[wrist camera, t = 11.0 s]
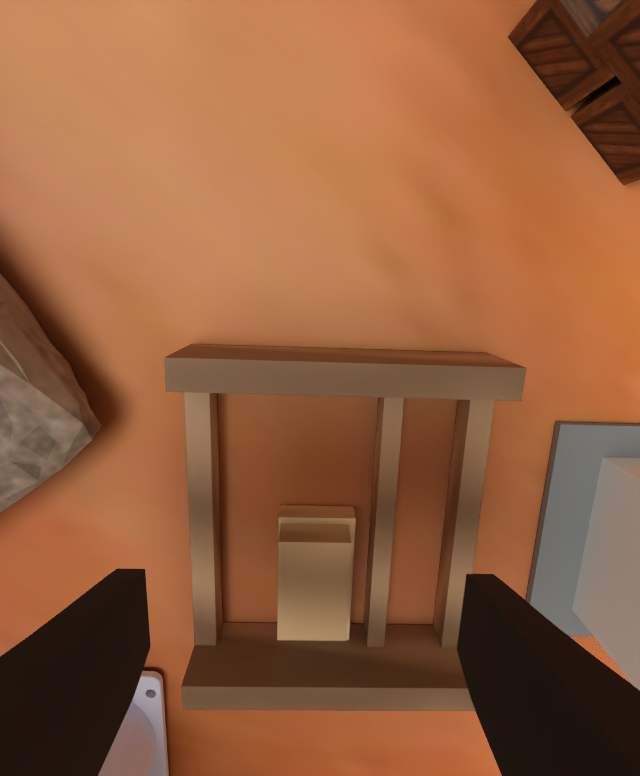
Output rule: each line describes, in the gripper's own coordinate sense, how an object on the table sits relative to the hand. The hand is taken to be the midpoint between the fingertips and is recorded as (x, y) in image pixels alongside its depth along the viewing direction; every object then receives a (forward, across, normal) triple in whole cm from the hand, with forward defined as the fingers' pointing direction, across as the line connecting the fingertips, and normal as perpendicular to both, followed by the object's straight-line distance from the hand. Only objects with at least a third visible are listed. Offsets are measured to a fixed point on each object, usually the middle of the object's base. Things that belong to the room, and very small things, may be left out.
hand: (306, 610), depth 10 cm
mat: (+10, -14, +4) cm, 18 cm away
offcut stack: (+10, 0, +6) cm, 12 cm away
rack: (+10, -2, +3) cm, 11 cm away
